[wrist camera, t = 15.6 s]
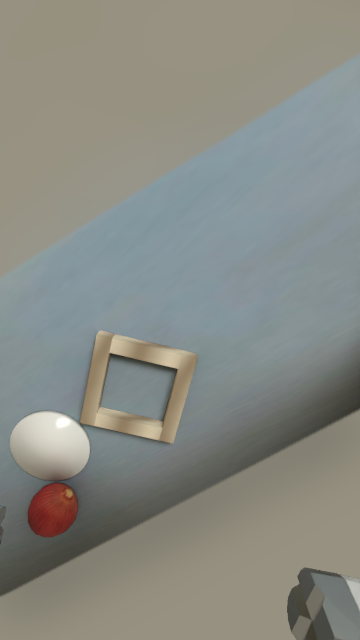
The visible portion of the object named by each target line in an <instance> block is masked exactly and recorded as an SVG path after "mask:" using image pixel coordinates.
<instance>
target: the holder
mask: <svg viewBox="0 0 360 640" xmlns="http://www.w3.org/2000/svg"><path fill="white" fill-rule="evenodd" d="M111 353H113V354H117V355H121V356H126V357H130V358H134V359H138V360H143V361H147V362H151V363H155V364H159V365H164V366H168V367H172V368H176V369H177V372H176V376H175V379H174V383H173V387H172V390H171V394H170V398H169V401H168V405H167V409H166V412H165V416H164V419H163V421H160V420H156V419H151V418H147V417H142V416H138V415H134V414H129V413H125V412H120V411H116V410H112V409H107V408H103V407H100V404H101V399H102V394H103V389H104V385H105V380H106V375H107V370H108V365H109V361H110V356H111ZM196 362H197V354H196V353H192V352H188V351H183V350H179V349H175V348H171V347H167V346H163V345H159V344H154V343H150V342H146V341H142V340H138V339H134V338H129V337H125V336H121V335H117V334H113V333H109V332H104V331H99V332H98V334H97V336H96V341H95V346H94V352H93V357H92V362H91V367H90V372H89V378H88V383H87V388H86V393H85V398H84V404H83V409H82V414H81V419H80V423H83V424H88V425H92V426H97V427H101V428H106V429H110V430H114V431H119V432H123V433H128V434H132V435H137V436H141V437H146V438H150V439H155V440H159V441H164V442H168V443H173V442H174V438H175V435H176V431H177V428H178V424H179V421H180V417H181V414H182V410H183V407H184V404H185V400H186V397H187V393H188V390H189V386H190V383H191V379H192V376H193V372H194V369H195V365H196Z"/></svg>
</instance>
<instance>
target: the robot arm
mask: <svg viewBox="0 0 360 640" xmlns="http://www.w3.org/2000/svg"><path fill="white" fill-rule="evenodd" d="M5 512H6V507H4V506H1V505H0V525H1V523H2V521H3V520H4V518H5ZM2 536H3V529H2V527H1V526H0V544H1V540H2ZM298 580H299V583H300V584H299V585H297V586H295V587H294V588H292V590H291V592H290V595H289V597H288V606H287V612H288V621H289V625H290V629H291V632H292V633H293V635H294V636H295V638H296V639H297V640H360V580H359V579H358V578H354V577H349V576H344V575H338V574H336V573H331V572H326V571H320V570H315V569H310V568H303V569H302V570H301V571H300V573H299V575H298Z"/></svg>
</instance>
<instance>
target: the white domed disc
mask: <svg viewBox="0 0 360 640" xmlns="http://www.w3.org/2000/svg"><path fill="white" fill-rule="evenodd" d="M10 448H11V452H12V455H13V457H14V459H15V461H16V462H17V463H18V465H19V466H20V467H21V468H22V469H23V470H25V471H26V472H27V473H29V474H31V475H33V476H35V477H37V478H40V479H43V480H49V481H60V480H65V479H68V478H71V477H73V476H75V475H76V474H78V473H79V472H80V471H81V470H82V469H83V468H84V467H85V465H86V463H87V461H88V459H89V456H90V451H91V445H90V440H89V437H88V435H87V433H86V431H85V429H84V428H83V427H82V426H81V425H80V424H79V423H78V422H77V421H76V420H75V419H73V418H72V417H70V416H68V415H66V414H63V413H60V412H56V411H38V412H34V413H31V414H29V415H27V416H26V417H24V418H23V419H22V420H21V421H20V422H19V423H18V424H17V425H16V427H15V428H14V430H13V432H12V434H11V438H10Z"/></svg>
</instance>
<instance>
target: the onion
mask: <svg viewBox="0 0 360 640" xmlns="http://www.w3.org/2000/svg"><path fill="white" fill-rule="evenodd" d="M77 511H78V499H77V497H76V495H75V493H74V491H73V490H72V489H71V488H70V487H69V486H67V485H66V484H63V483H57V482H56V483H52V484H49V485H46V486H44V487H43V488H42V489H41V490H40V491H39V492H38V493H37V494H36V495H35V496H34V497H33V499H32V501H31V504H30V506H29V509H28V523H29V525H30V527H31V529H32V530H33V532H34V533H35V534H37V535H40V536H42V537H54V536H56V535H59V534H61V533H63V532H64V531H66V530H67V529H68V528H69V527H70V526H71V524H72V523H73V522H74V520H75V518H76V515H77Z"/></svg>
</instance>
